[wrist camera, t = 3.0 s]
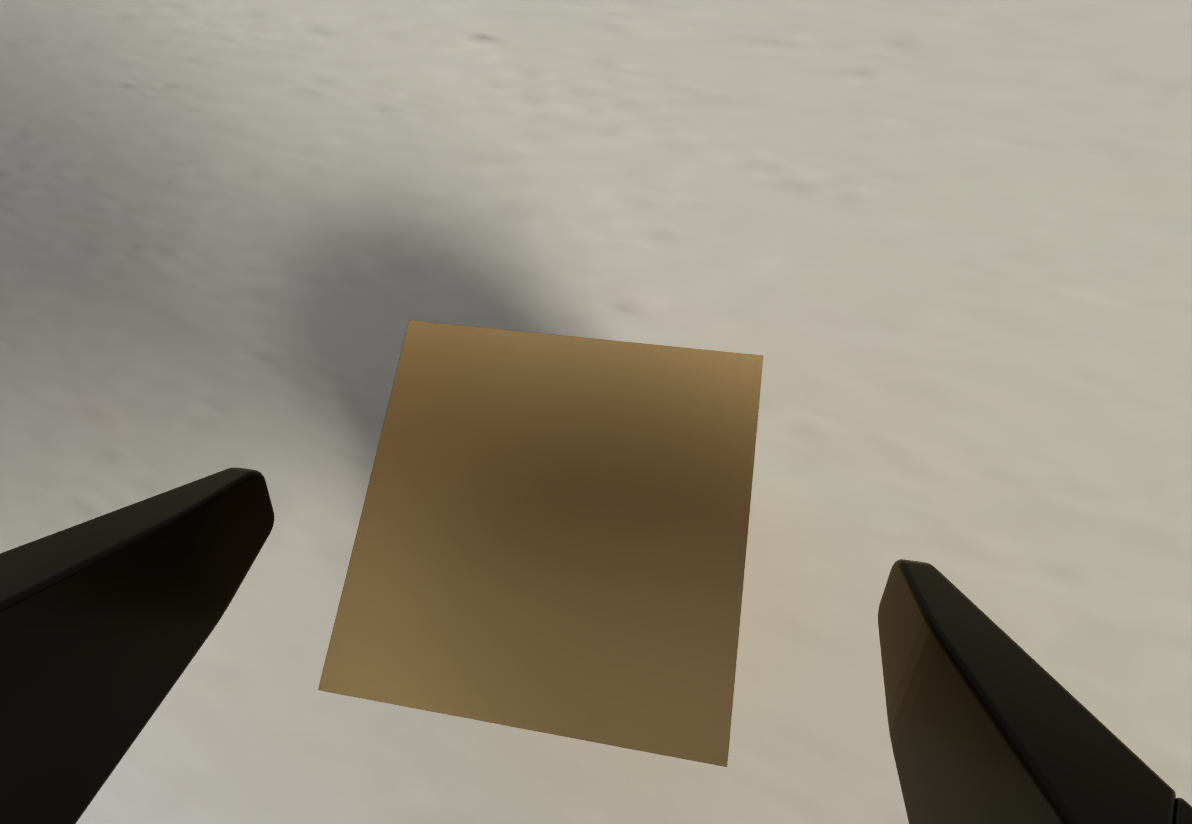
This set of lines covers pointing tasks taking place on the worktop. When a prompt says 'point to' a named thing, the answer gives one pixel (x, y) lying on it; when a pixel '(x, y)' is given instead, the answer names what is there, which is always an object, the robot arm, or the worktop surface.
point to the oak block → (556, 538)
